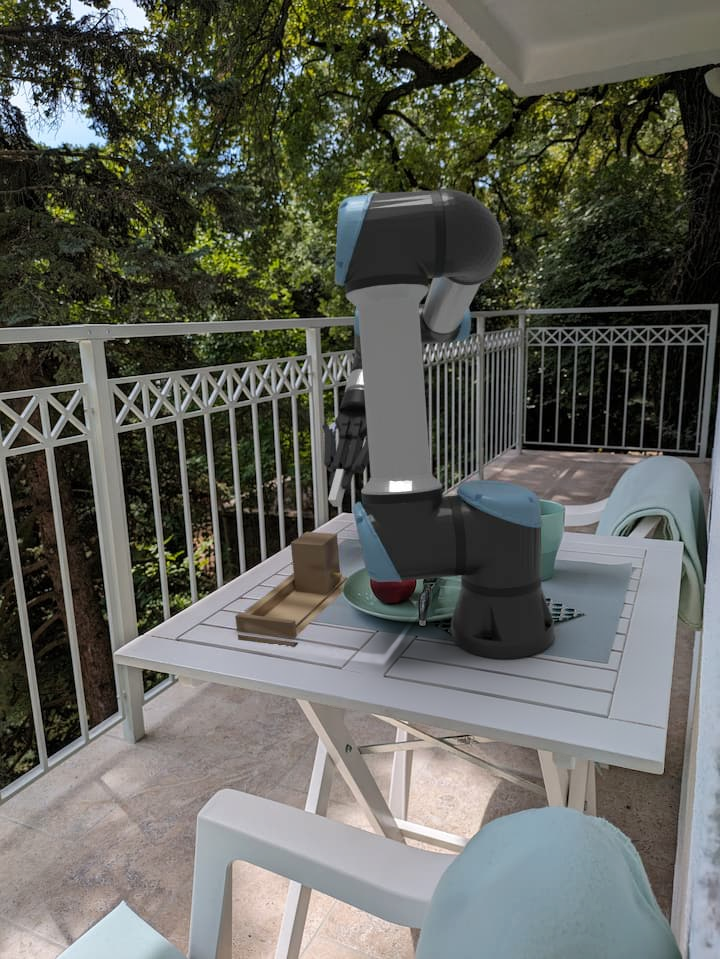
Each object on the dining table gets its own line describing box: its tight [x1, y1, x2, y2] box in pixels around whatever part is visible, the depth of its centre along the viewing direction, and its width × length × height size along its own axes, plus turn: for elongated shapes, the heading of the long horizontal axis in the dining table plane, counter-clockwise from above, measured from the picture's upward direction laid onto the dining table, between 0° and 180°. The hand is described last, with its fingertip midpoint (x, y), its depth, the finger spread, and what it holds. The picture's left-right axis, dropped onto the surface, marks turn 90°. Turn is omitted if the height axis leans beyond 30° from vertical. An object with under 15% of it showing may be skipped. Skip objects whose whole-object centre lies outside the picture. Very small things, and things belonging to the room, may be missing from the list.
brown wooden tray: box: [234, 572, 349, 648], centre depth 123 cm, size 24×10×4 cm, turn 157°
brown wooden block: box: [290, 531, 343, 595], centre depth 128 cm, size 6×8×9 cm
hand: (334, 503), depth 135 cm, fingers closed
